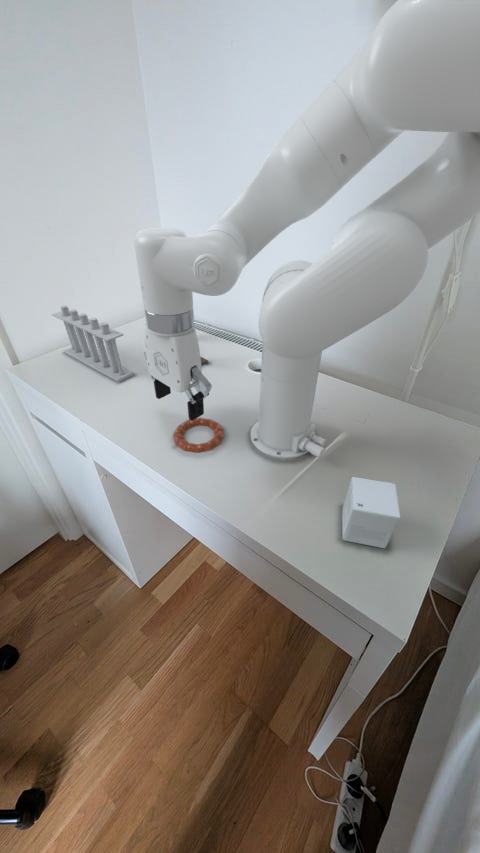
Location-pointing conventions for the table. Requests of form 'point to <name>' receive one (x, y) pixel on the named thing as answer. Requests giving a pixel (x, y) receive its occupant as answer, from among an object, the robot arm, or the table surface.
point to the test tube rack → (93, 343)
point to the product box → (370, 512)
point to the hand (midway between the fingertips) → (179, 405)
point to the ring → (204, 446)
